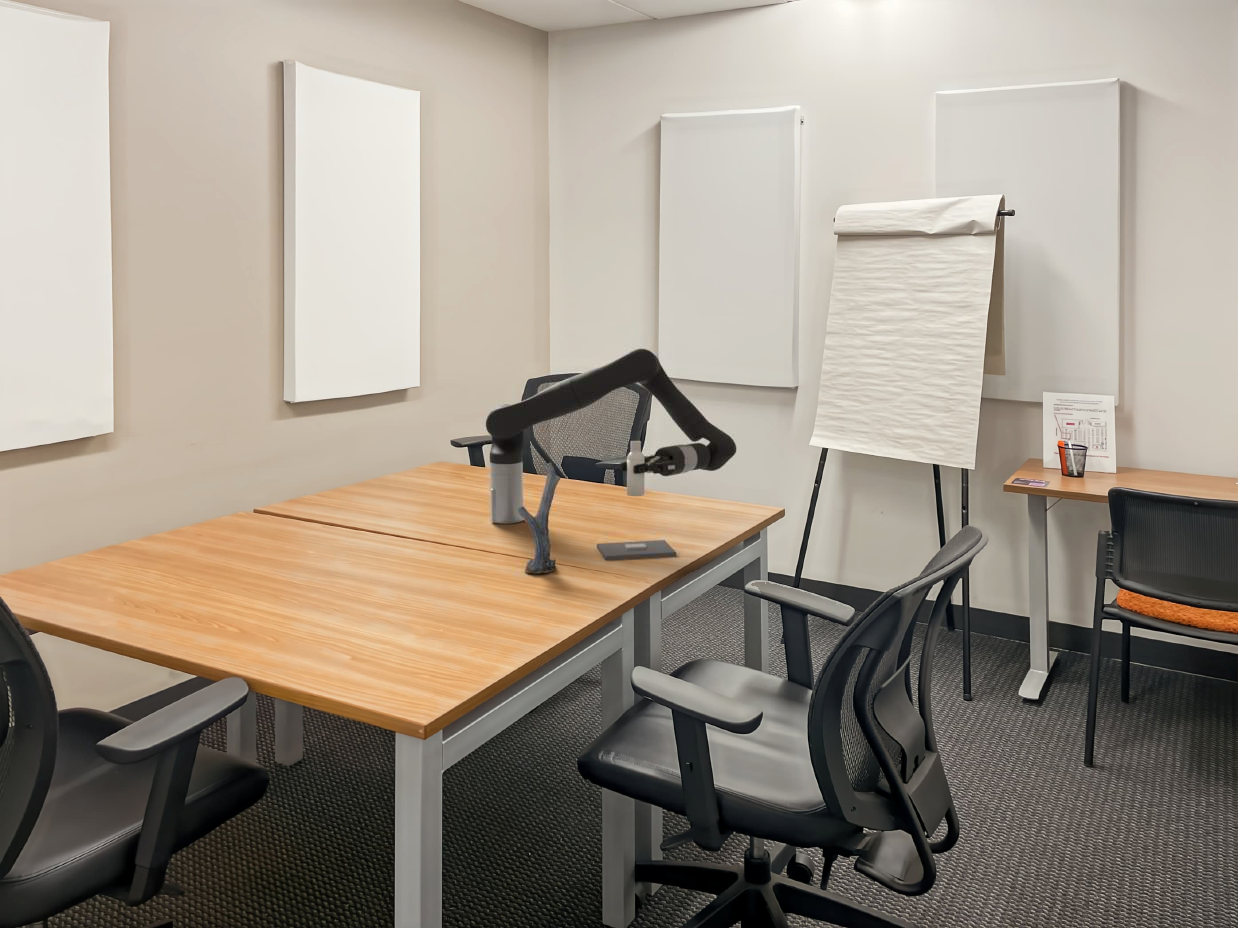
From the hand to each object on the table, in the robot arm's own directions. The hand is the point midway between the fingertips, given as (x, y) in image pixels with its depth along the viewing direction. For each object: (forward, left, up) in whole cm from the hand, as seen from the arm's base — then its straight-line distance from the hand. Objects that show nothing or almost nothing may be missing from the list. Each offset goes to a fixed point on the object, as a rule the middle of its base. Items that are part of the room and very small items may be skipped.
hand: (627, 468), depth 240 cm
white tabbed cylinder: (+2, +1, -7) cm, 8 cm away
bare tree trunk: (-23, -9, -22) cm, 33 cm away
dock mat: (+2, +1, -22) cm, 22 cm away
